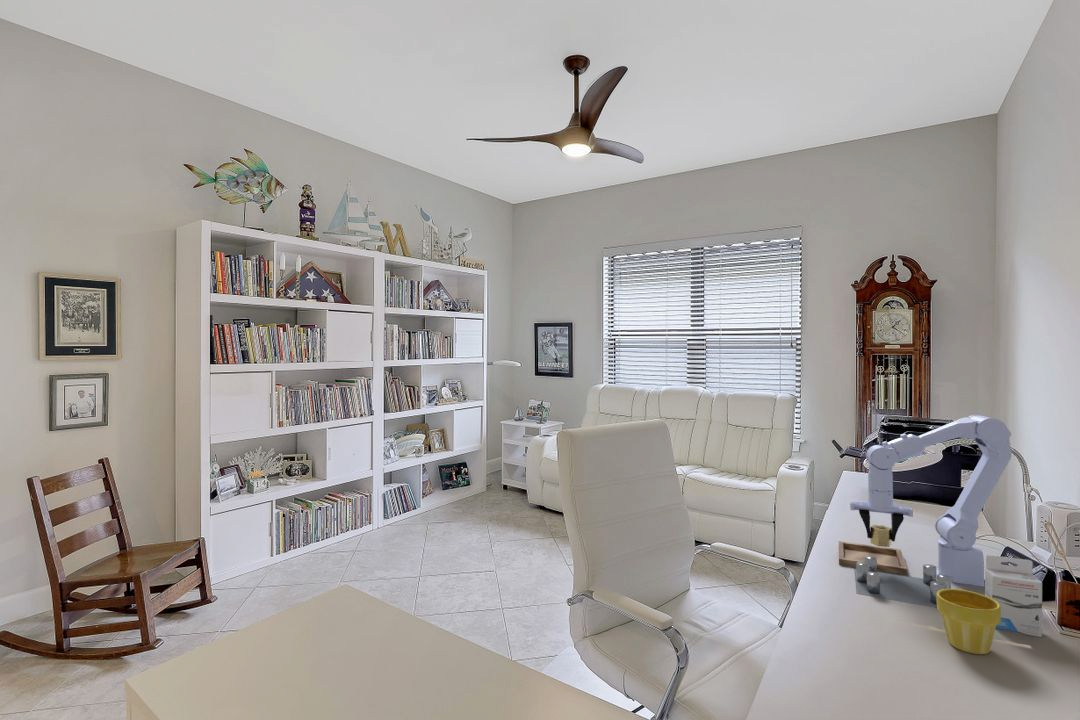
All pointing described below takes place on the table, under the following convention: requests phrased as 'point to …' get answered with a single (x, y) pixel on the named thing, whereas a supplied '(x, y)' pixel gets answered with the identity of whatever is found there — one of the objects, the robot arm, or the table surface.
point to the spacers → (872, 578)
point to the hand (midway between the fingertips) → (880, 538)
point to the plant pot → (968, 619)
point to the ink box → (1015, 594)
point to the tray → (885, 556)
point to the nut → (880, 535)
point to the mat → (899, 589)
